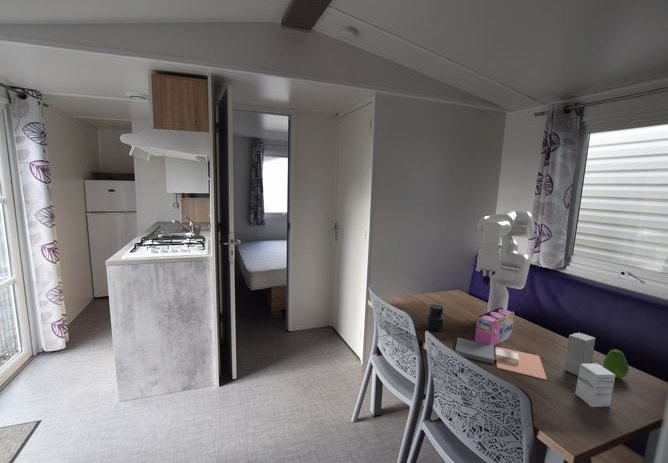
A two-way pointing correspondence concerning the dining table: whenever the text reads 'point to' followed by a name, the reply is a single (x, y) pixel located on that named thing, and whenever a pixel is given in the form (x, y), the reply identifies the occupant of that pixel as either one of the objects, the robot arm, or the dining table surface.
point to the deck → (475, 350)
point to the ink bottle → (435, 318)
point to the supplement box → (595, 385)
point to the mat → (524, 365)
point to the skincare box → (579, 352)
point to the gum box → (494, 326)
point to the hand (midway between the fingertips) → (486, 283)
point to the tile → (506, 356)
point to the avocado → (616, 363)
